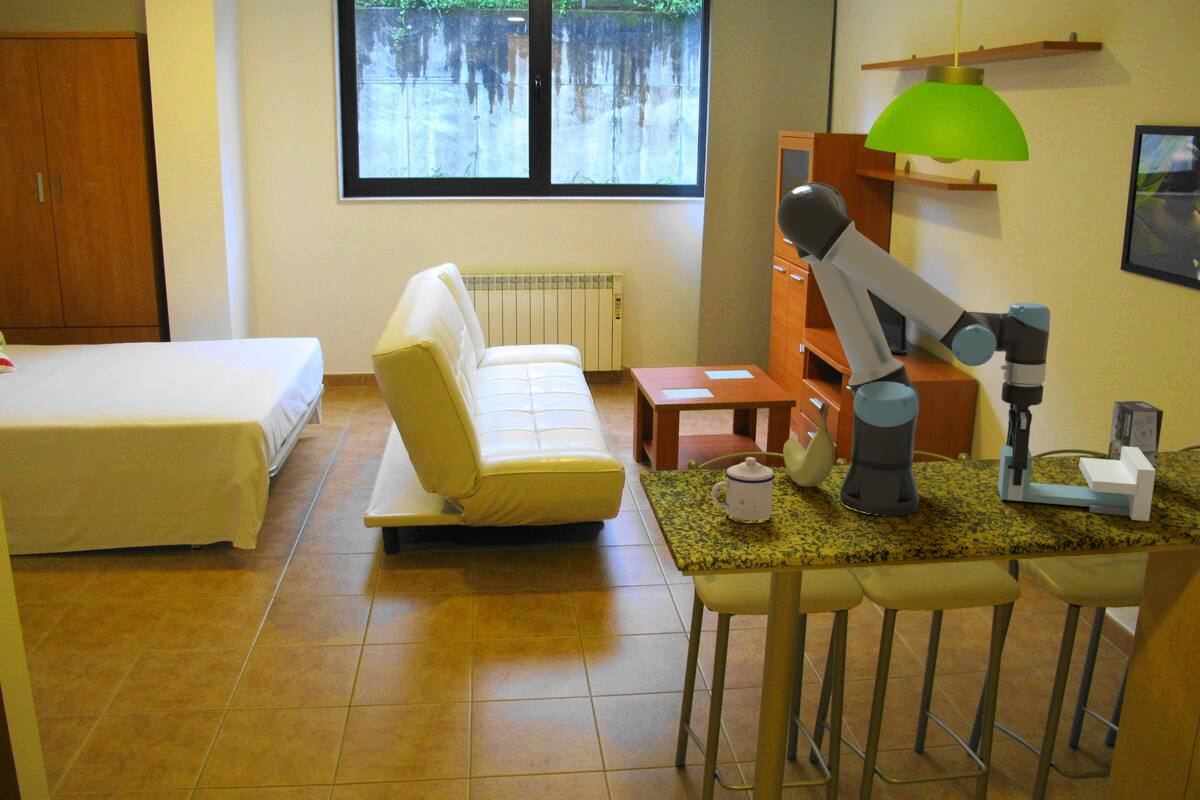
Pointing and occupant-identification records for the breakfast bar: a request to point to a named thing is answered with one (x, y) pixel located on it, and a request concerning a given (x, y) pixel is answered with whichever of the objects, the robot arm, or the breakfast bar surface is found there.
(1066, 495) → the light blue l-bracket
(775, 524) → the breakfast bar surface
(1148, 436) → the coffee box
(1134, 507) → the shelf
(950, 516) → the breakfast bar surface
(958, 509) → the breakfast bar surface
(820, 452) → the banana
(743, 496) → the teacup with lid
